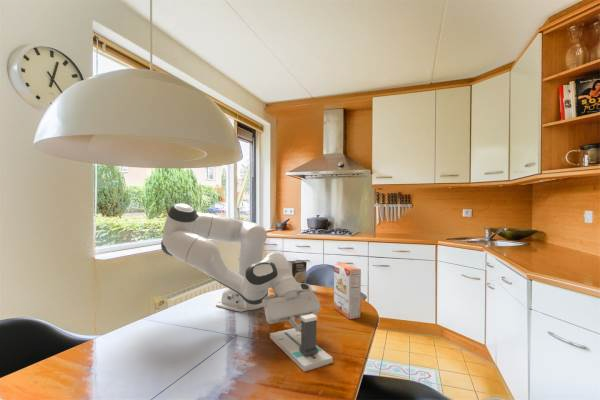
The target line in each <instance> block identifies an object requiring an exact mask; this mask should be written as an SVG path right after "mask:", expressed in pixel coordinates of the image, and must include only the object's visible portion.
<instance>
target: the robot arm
mask: <svg viewBox="0 0 600 400" xmlns="http://www.w3.org/2000/svg"><path fill="white" fill-rule="evenodd" d="M267 233H268V232H267V231H266V228H264V226H263V225H262V224H260V223H258V222H252V221H247V220H242V219H238V218H232V217H228V216H223V215H217V214H212V213H208V212H207V213H206V212H197V210H196V209H195V208H194V207H193V206H192V205H189V204H186V203H175V204H173V205H172V206H170V208H169V210H168V212H167V217H166V219H165V222H164V225H163V234H162V239H161V241H160V242H161V243H160V245H161V247H160V248H161V251H163V253H164V254H166V255H168V256H169V257H175V258H176V259H178V260H179V261H181V262H183V263H185V264H187V265H189V266H191V267H193V268H196V269H197V270H199V271H200V272H202V273H204V274H205V275H207V276H208V277H210V278H211V279H212V280H213V281H216V282H218V283H219V284H221V285H222V286H224V287H226V288H225V289H224V290H223V292H222V295H221V299H219V300H218V301H217V302H216V305H215V306H216V307H218V308H222V309H227V310H230V311H236V312H242V313H243V312H246V311H253V310H258V309H261V308H264V313H265V314H264V315H265V319H266V323H268V324H269V325H272V324H277V323H281V322H286V321H288V323H289V324H290V325H291V326H292V327H293V328H295V330H296V332H297V331H299V332H301V316H304V315H309V314H314V315H317V314H318V313H319V311H321V309H322V308H321V303H320V301H319V299H318V297H317V295H316V294H315V293H314V291H312V286H311V285H310V284H308V283H306V284H303V283H299V282H296V280H295V279H294V277H293V276H292V270H291V268H290V266H289V263H288V261H289V260H288V259H287V258H286V256H285V255H284V254H282V253H281V252H278V251H277V252H271V253H268V254H266V256H265V257H264V258H263V255H264V249H265V244H266V241H267V238H268V235H267ZM212 240H213V241H220V242H227V243H238V244H240V251H239V255H238V263H237V264H238V265H237V268H238V269H237V271H238V272H236V271H234V270H232V269H230V268H229V267H228V266H227V265H226V263H225V262H224V259H223V258H222V255H221V252H220V249H219V248H218V245H217V244H216V243H214V242H213V241H212ZM269 289H272V291H273V293H274V294H271V295H269ZM296 319H298V321H300V323H297V321H296Z"/></svg>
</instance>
